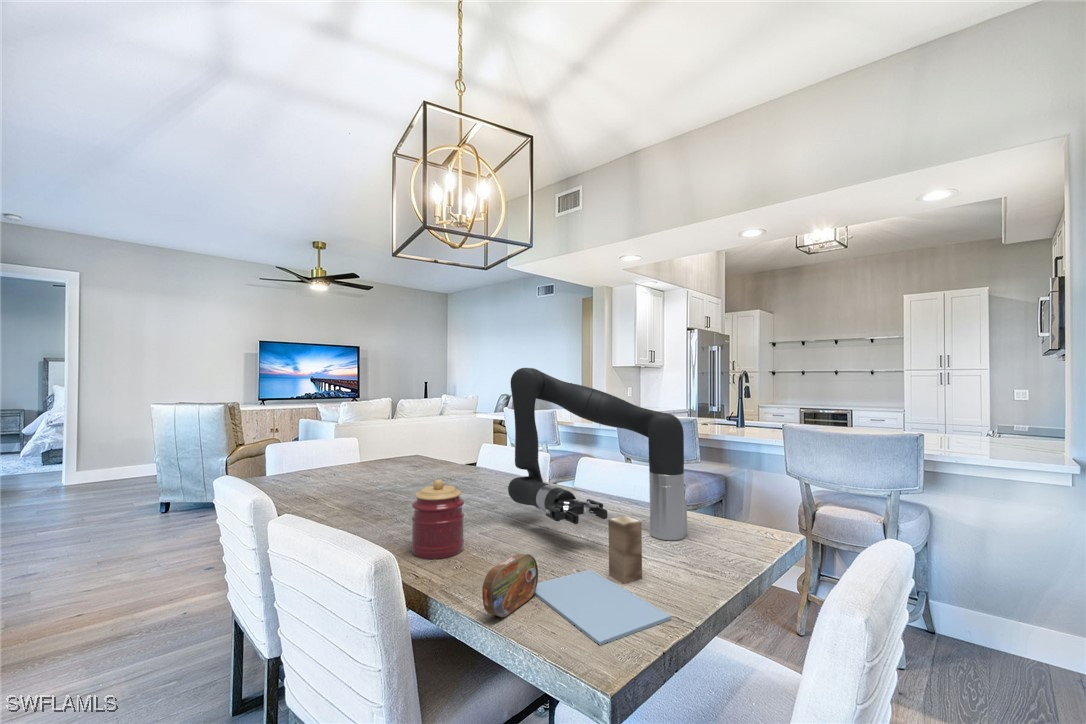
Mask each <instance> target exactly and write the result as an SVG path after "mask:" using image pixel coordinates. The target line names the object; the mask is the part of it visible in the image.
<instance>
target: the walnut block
mask: <svg viewBox="0 0 1086 724" xmlns="http://www.w3.org/2000/svg"><path fill="white" fill-rule="evenodd" d="M642 532H643V531H642V522H641V521H640V520H638V519H636V518H632V517H630V516H627V515H624V516H618V517H613V518H610V519H608V576H609V577H611V578H612V577H613V579H614V578H615V579H614V580H616V581H618V582H620V583H621V584H623V585H626V584H629V583H633V582H636V581H637V582H638V581H639V580H642V579H643V552H642V551H643V549H642V548H643V543H642V542H643V539H642V536H643V535H642Z"/></svg>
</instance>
